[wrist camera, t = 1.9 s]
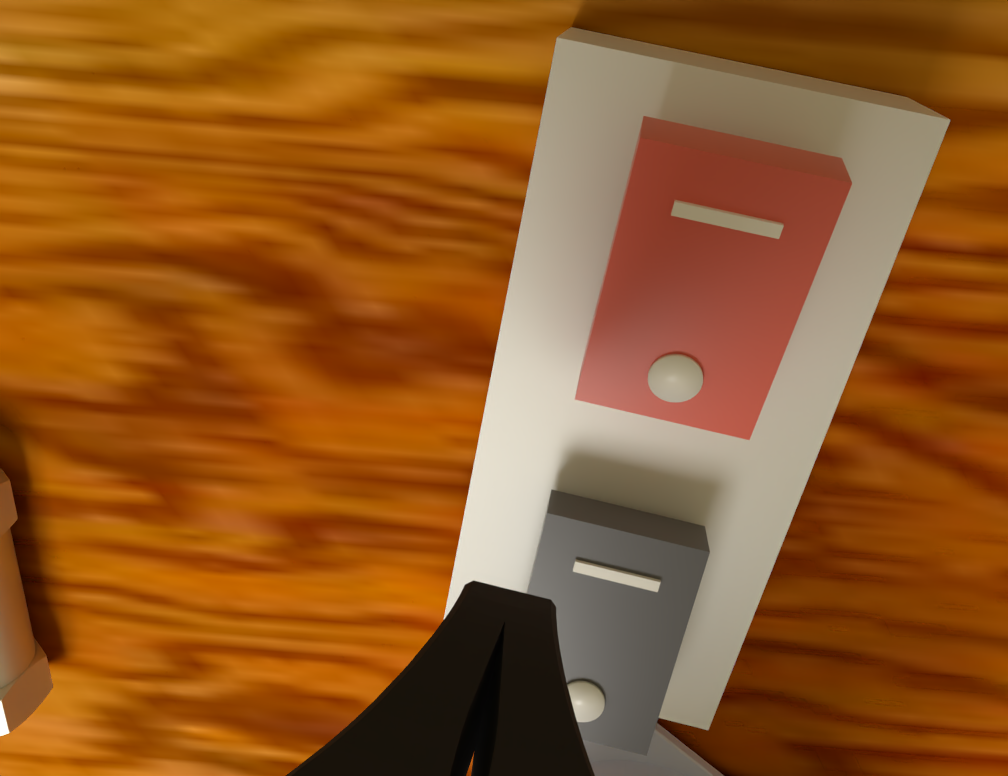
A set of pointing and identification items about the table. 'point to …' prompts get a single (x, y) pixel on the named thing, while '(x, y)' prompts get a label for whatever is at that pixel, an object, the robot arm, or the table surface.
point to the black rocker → (617, 609)
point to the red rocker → (708, 274)
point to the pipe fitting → (16, 631)
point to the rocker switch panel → (572, 302)
